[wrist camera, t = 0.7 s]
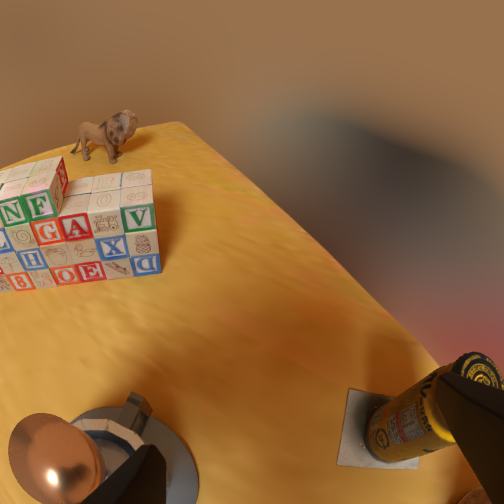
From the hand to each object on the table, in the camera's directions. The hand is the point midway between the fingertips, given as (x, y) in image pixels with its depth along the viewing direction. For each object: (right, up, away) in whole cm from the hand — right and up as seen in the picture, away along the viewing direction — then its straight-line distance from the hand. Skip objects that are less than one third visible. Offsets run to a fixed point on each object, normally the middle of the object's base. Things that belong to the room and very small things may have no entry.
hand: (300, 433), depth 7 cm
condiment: (+10, -11, +14) cm, 21 cm away
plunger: (-11, -9, +6) cm, 15 cm away
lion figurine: (-28, +22, +40) cm, 53 cm away
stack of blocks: (-22, +4, +23) cm, 32 cm away
